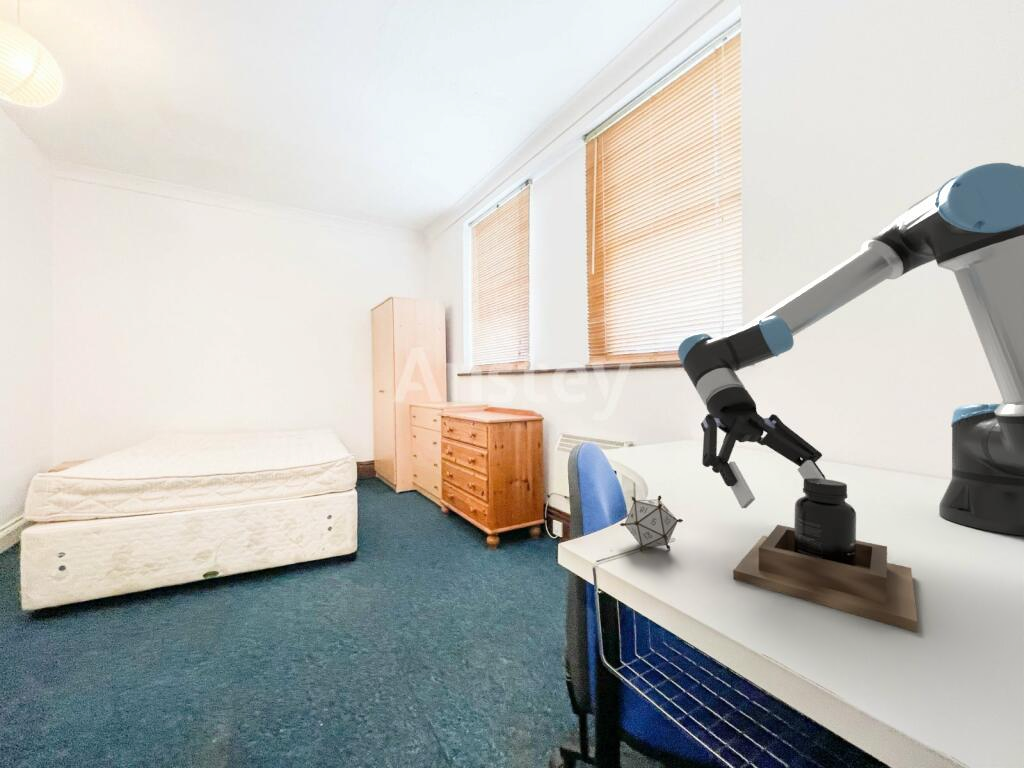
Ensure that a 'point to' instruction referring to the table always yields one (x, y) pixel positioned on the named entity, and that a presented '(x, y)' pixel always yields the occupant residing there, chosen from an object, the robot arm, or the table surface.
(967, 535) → the table surface
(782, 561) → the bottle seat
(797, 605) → the table surface
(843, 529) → the supplement bottle
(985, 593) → the table surface
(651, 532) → the game die
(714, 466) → the robot arm
